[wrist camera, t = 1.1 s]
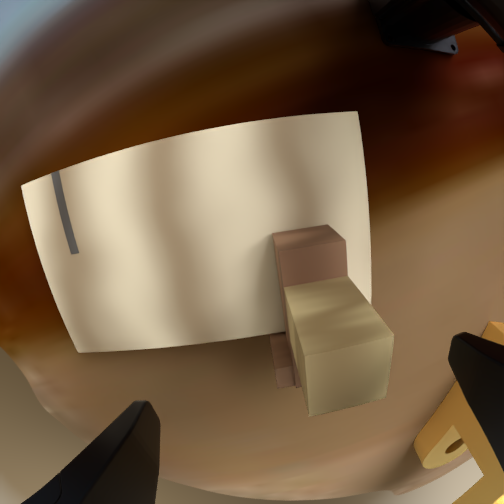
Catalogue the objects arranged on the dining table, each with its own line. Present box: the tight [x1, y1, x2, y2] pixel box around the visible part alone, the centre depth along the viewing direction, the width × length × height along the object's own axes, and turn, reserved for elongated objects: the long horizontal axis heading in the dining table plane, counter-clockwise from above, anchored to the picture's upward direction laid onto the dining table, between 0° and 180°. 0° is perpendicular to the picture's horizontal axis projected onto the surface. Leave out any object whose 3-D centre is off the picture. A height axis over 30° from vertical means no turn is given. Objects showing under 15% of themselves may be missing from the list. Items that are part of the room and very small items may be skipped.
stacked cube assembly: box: [269, 224, 394, 417], centre depth 14 cm, size 5×8×10 cm, turn 9°
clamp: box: [414, 321, 504, 504], centre depth 18 cm, size 20×9×16 cm, turn 167°
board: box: [21, 111, 371, 353], centre depth 17 cm, size 20×12×3 cm, turn 99°
